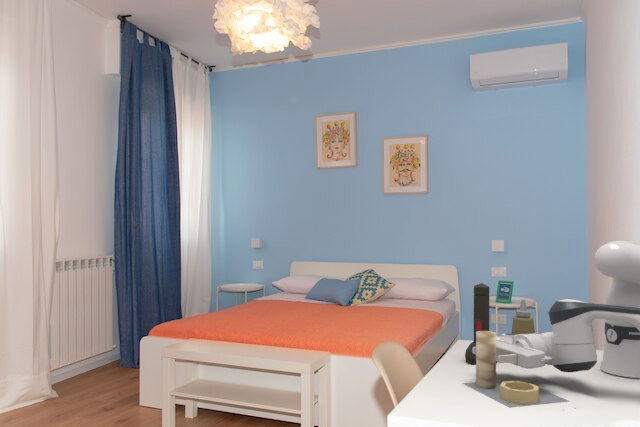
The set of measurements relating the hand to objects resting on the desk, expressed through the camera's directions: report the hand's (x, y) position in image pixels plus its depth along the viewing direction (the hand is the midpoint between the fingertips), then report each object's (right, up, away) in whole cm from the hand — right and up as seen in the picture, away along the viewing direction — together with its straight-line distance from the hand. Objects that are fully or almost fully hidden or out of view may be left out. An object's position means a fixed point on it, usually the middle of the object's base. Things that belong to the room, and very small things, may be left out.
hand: (485, 354), depth 143 cm
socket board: (+6, -9, -4) cm, 12 cm away
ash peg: (0, -8, 0) cm, 8 cm away
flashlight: (+7, -10, +29) cm, 31 cm away
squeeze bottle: (+25, -11, +41) cm, 50 cm away
